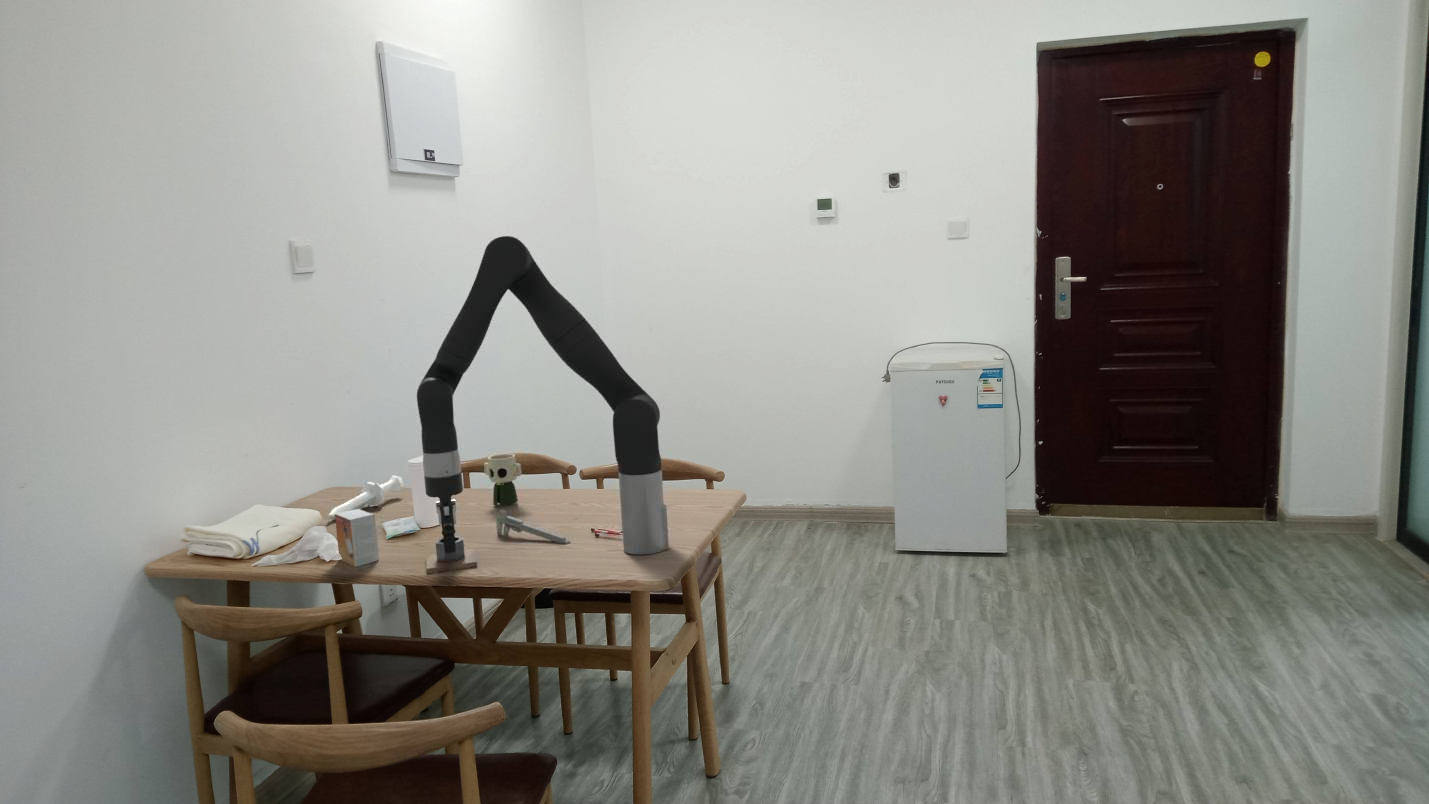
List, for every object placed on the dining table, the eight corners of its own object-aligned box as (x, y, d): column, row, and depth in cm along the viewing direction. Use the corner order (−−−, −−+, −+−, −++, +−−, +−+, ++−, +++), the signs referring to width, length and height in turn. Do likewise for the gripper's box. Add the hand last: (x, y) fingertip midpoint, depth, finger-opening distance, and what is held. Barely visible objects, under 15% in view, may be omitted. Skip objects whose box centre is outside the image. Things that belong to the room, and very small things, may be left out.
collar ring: (464, 552, 202) (462, 534, 201) (465, 560, 196) (463, 541, 196) (437, 556, 200) (435, 538, 200) (437, 563, 195) (435, 545, 194)
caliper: (497, 536, 217) (494, 509, 217) (500, 534, 218) (497, 508, 217) (567, 545, 208) (565, 517, 207) (570, 543, 209) (568, 516, 208)
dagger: (338, 520, 233) (415, 477, 257) (321, 503, 233) (399, 462, 257) (327, 538, 237) (403, 494, 261) (310, 521, 237) (388, 479, 261)
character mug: (480, 507, 243) (475, 459, 241) (495, 500, 249) (491, 453, 248) (516, 509, 239) (512, 459, 237) (531, 502, 246) (527, 454, 244)
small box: (339, 560, 204) (333, 513, 203) (364, 553, 208) (358, 507, 207) (354, 567, 199) (349, 519, 197) (380, 560, 202) (375, 513, 201)
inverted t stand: (474, 552, 205) (472, 526, 204) (477, 566, 195) (474, 538, 194) (426, 559, 202) (424, 532, 201) (427, 573, 192) (424, 545, 191)
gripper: (462, 476, 190) (469, 553, 192) (459, 463, 203) (466, 535, 206) (423, 480, 188) (431, 559, 190) (423, 466, 201) (431, 540, 204)
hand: (449, 546), depth 198 cm, fingers open, 8 cm apart
